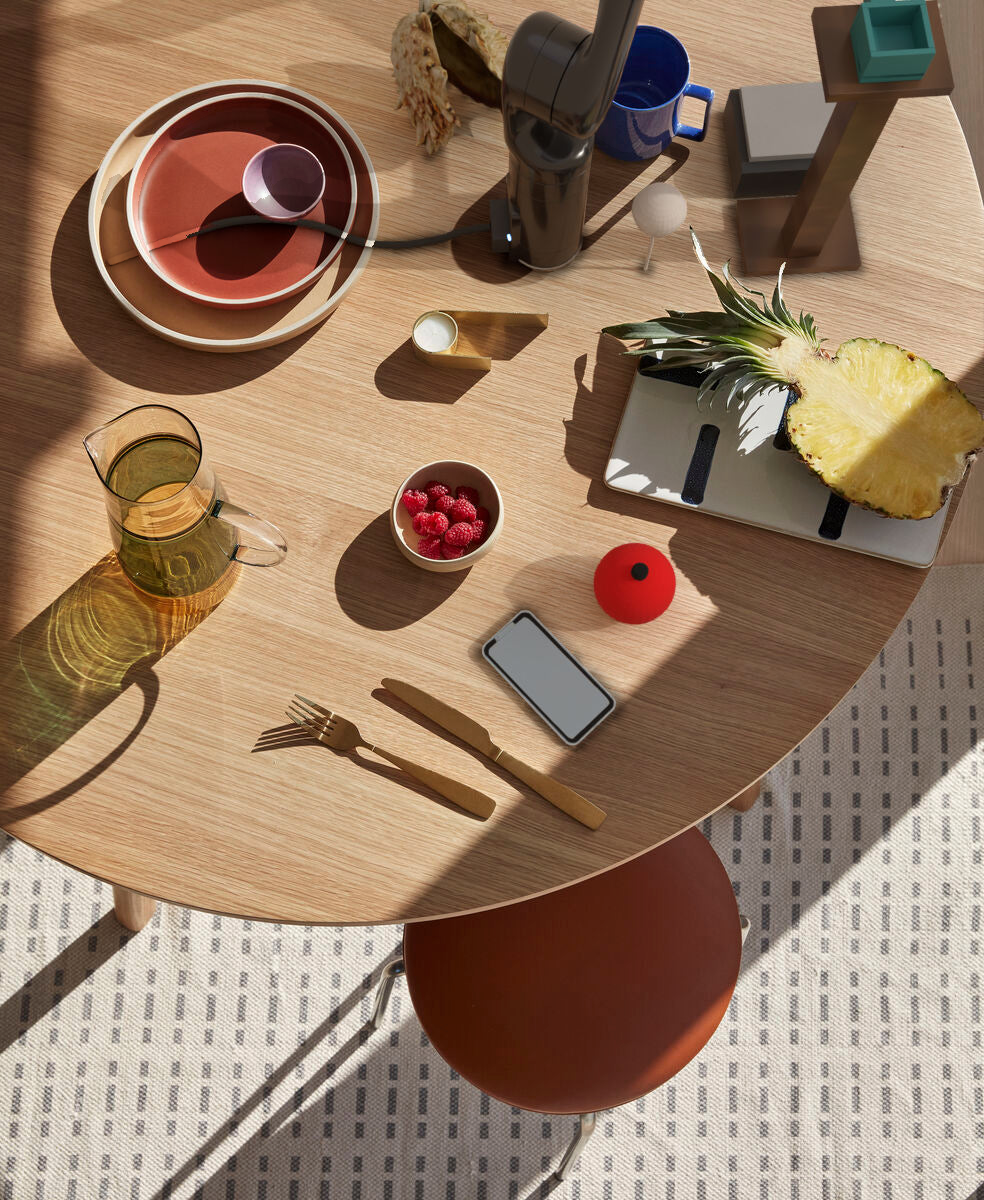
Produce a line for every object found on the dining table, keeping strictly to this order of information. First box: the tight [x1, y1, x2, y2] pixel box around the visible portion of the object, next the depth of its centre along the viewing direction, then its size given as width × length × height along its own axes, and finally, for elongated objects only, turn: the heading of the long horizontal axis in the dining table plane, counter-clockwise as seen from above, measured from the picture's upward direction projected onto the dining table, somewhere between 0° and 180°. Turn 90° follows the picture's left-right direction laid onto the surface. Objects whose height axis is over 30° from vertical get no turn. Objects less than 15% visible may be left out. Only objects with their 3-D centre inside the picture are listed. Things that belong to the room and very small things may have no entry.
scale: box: [721, 81, 837, 199], centre depth 136 cm, size 14×12×6 cm
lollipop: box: [631, 181, 688, 271], centre depth 128 cm, size 6×6×15 cm
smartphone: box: [481, 609, 617, 747], centre depth 122 cm, size 7×1×15 cm
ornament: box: [592, 542, 677, 626], centre depth 120 cm, size 9×9×10 cm
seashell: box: [389, 0, 510, 156], centre depth 133 cm, size 18×18×15 cm
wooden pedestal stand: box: [734, 0, 956, 278], centre depth 121 cm, size 14×10×32 cm
